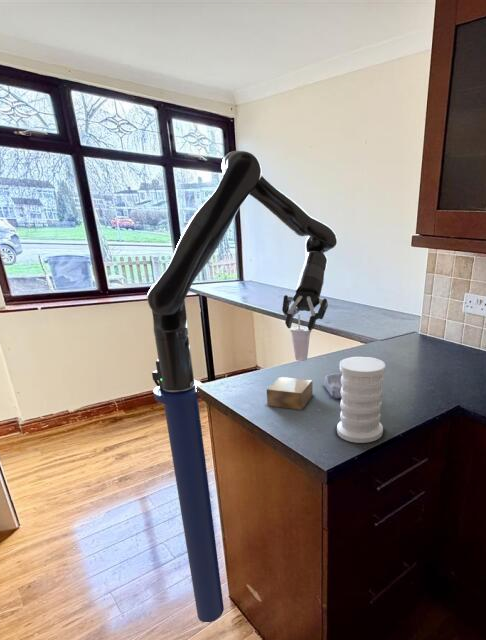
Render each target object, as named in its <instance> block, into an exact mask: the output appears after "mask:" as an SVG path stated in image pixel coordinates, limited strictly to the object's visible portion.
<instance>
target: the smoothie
mask: <svg viewBox="0 0 486 640" xmlns="http://www.w3.org/2000/svg"><path fill="white" fill-rule="evenodd" d="M289 332H290V334H291V340H292V347H293V353H294V359H295V361H299V362H303V361H306V360H308V356H309V346H310V337H311V333H312V330H309V329H308V326H306V325H301V314H297V325H295V326H291V328H289Z"/></svg>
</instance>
